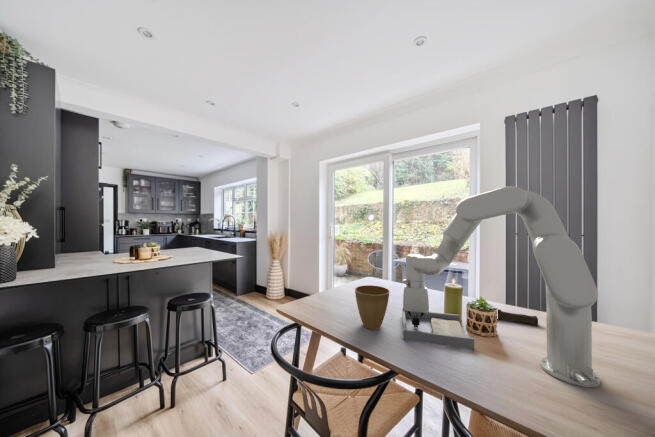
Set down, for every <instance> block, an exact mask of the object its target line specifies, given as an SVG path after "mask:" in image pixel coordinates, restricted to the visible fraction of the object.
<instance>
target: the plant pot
mask: <svg viewBox="0 0 655 437" xmlns="http://www.w3.org/2000/svg"><path fill="white" fill-rule="evenodd" d="M354 293H355V299H356V300H355V301H356V305H357V310H358V313H359V317H360V320H361V323H362V326H363V327H364V328H365V329H367V330H371V331H372V330H373V331H375V330H379V329H380V328H381V327H382V324H383V322H384V319H385V315H386V312H387V308H388V303H389V297H390V290H389V288H386V287H384V286H379V285H372V284H371V285H370V284H368V285H360V286H359V285H358V286H356V287H355V288H354Z"/></svg>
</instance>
